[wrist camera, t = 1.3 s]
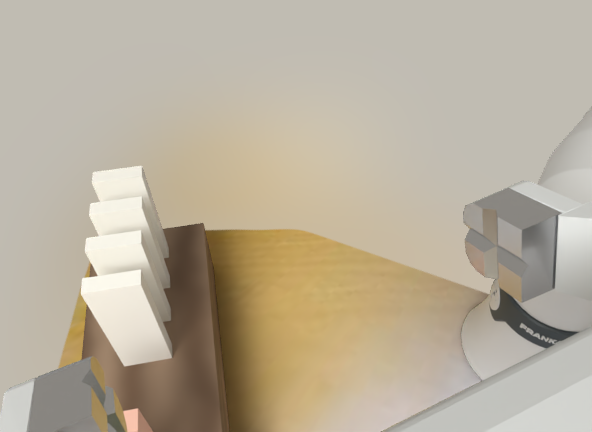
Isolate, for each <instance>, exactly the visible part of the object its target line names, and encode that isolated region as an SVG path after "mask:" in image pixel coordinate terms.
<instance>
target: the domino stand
mask: <svg viewBox="0 0 592 432" xmlns="http://www.w3.org/2000/svg"><path fill="white" fill-rule="evenodd" d="M163 232H164V235H165V238H166V241H167V244H168V247H169V258H164V261H165V264H166V267H167V269H168V272H169V275H170V288H165V289H164V292H165V295H166V297H167V300H168V303H169V305H170V308H171V321H166V322H163V324H164V326H165V329H166V331H167V334H168V336H169V338H170V341H171V343H172V358H170V359H164V360H159V361H153V362H147V363H141V364H136V365H130V366H124V365H123V363H122V362H121V360H120V358H119V357H118V355H117V353H116V352H115V350H114V348H113V347H112V345H111V343H110V342H109V340H108V338H107V337H106V335H105V333H104V332H103V330H102V328H101V327H100V325H99V323H98V322H97V320H96V318H95V317H94V315H93V313H92V312H91V310H90V308H89V307H88V305H87V309H86V319H85V330H84V340H83V351H82V360H83V359H85V358H88V357H91V356H94V357H95V358H96V359H97V360H98V362H99V364H100V365H101V367H102V369H103V371H104V379H105V386H108V387H111V388H113V389H114V391H115V393H116V395H117V397H118V399H119V402H120V404H121V407H122V409H123V411H126V410H132V409H137V408H138V409H139V411H140V412H141V414H142V415H143V417H144V418H145V420H146V421H147V423H148V424H149V426H150V428H151V429H152V431H153V432H230V430H229V419H228V409H227V399H226V389H225V379H224V369H223V359H222V349H221V338H220V328H219V318H218V308H217V298H216V288H215V278H214V268H213V263H212V259H211V255H210V250H209V246H208V242H207V237H206V233H205V229H204V224H203V223H201V224H194V225H187V226H181V227H174V228H167V229H163ZM95 276H98V275H97V273H96V272H95V270H94V268H93V266H92V264H91V267H90V277H95Z"/></svg>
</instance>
